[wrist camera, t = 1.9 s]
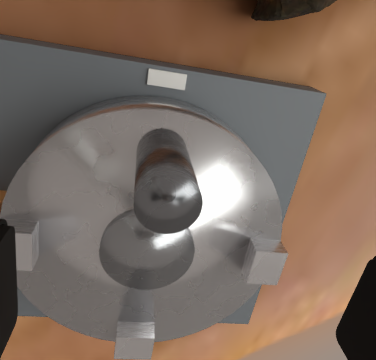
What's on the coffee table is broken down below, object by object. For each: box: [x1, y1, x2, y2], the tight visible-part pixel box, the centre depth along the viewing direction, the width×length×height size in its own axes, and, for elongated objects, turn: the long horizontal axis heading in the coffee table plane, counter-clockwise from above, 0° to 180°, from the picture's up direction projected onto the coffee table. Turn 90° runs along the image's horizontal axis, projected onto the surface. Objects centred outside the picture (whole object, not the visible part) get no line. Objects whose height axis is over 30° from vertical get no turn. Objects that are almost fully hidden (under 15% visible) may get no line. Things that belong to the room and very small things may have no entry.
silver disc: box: [0, 96, 288, 359], centre depth 18 cm, size 15×15×8 cm
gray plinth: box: [0, 34, 326, 324], centre depth 21 cm, size 18×18×5 cm
